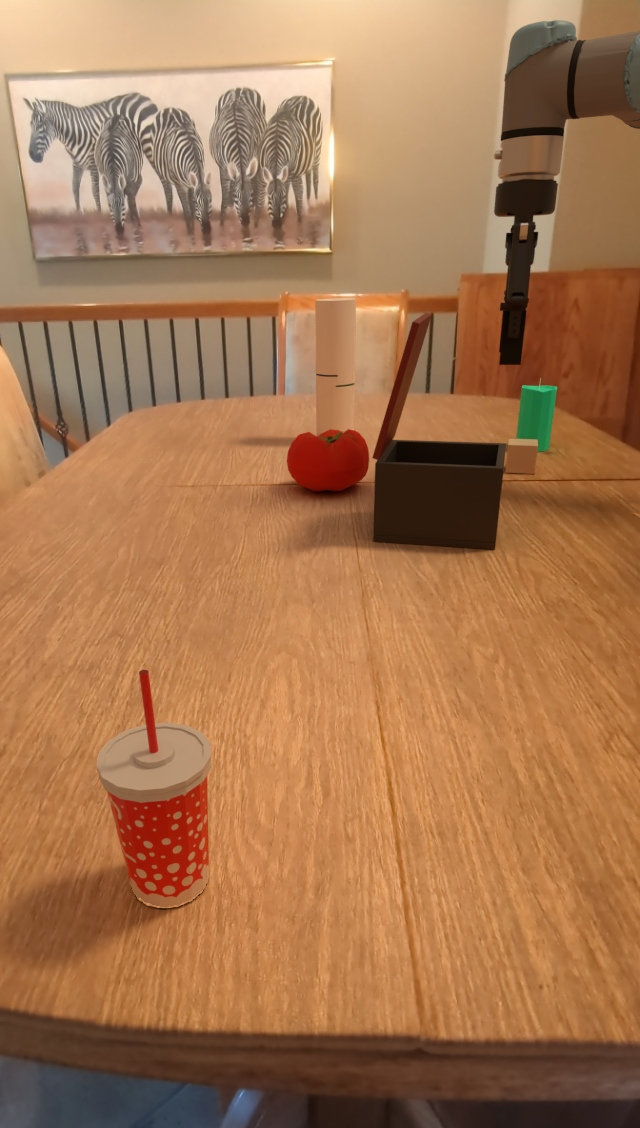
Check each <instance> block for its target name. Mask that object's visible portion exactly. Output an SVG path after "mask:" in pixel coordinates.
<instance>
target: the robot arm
mask: <svg viewBox="0 0 640 1128" xmlns="http://www.w3.org/2000/svg"><path fill="white" fill-rule="evenodd" d="M503 81H504V89H503V90H504V92H503V105H502V119H501V133H500V145H499V146H500V150H495V151H494V154H493V159H494V160H495V161H496V160H497V161H498V160H499V162H498V166H497V167H498V168H497V177H498V178H499V179H501V183H498V184H497V186H496V187H495V197H494V207H493V208H494V209H493V214H494V215H495V217H498V218H509V217H511V218H512V217H514V218H513V224H512V225H511V227H510V232H506V234H505V244H504V248H505V249H506V250H505V251H506V252H505V265H506V266H507V272H506V281H505V282H506V283H505V290H504V292H503V295H504V296H503V301H504V302H500V305H499V312H502V317H501V327H500V337H499V338H500V339H499V349H498V353H500V354H499V361H498V362H499V364H498V365H499V366H521V365H522V357H523V350H524V349H523V348H524V340H525V331H526V330H525V329H526V320H527V313H528V312H527V311H528V310H527V308H528V306H529V305H528V304H529V303H530V298H529V290H530V280H531V268H532V266H533V264H534V261H535V253H536V248H537V246H538V241H539V231H536V230H537V229H536V228H537V225H536V221H534V217H536V216H548V215H552V214H553V213H554V212H555V211H556V204H557V196H558V187H559V183H558V181H557V180H556V179H555V177H556V176H558V175H559V174H560V173H561V168H562V167H561V166H562V159H563V149H564V140H565V127H566V123H567V120H579V119H584V118H585V119H586V118H596V117H597V118H598V117H607V116H609V117H610V116H613V117H614V118H616V119H619V120H621V122H623V123H624V124H625V125H627V126H629V127H630V128H633V129H636V130H640V30H636V31H631V32H630V31H629V32H625V33H619V34H614V35H607V36H602V37H596V38H591V39H583V40H581V39H578V37H577V28H576V25H575V24H574V23H573V22H572V21H568V20H562V19H560V20H559V19H555V20H549V21H547V20H542V21H536V22H532V23H528V24H526V25H523V26H521V27H519V29H517V30H515V32H514V33H513V34H512V37H511V39H510V41H509V49H508V57H507V63H506V70H505V74H504V80H503Z"/></svg>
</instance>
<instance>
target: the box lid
mask: <svg viewBox="0 0 640 1128" xmlns="http://www.w3.org/2000/svg"><path fill="white" fill-rule="evenodd" d="M432 316H433V315H432V313H429V312H425V313H423V314H422V315H420V316H419V317H418V318H416V319H414V320H413V321H412V322H411V326H410V328H409V332H408V335H407V339H406V342H405V346H404V350H403V352H402V355H401V358H400V363H399V366H398V370H397V373H396V376H395V380H394V383H393V387H392V389H391V393H390V397H389V400H388V403H387V407H386V410H385V413H384V418H383V420H382V424H381V427H380V431H379V434H378V437H377V441H376V444H375V448H374V452H373V454H372V459H373V460H376V461H377V460H379V459H380V457H381V456H382V454H383V453H384V451H385V450H386V448H387V447H388V445H389V444H390V443H391V441H392V440H394V438H395V437H396V434H397V430H398V427H399V424H400V420H401V417H402V414H403V411H404V407H405V404H406V402H407V401H406V400H407V397H408V394H409V390H410V387H411V384H412V381H413V378H414V375H415V371H416V368H417V365H418V361H419V358H420V355H421V352H422V348H423V345H424V341H425V338H426V337H427V336H426V335H427V332H428V328H429V325H430V322H431V319H432Z"/></svg>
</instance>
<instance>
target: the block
mask: <svg viewBox="0 0 640 1128" xmlns="http://www.w3.org/2000/svg"><path fill="white" fill-rule="evenodd" d="M507 442H508V443H507V449H506V450H507V452H506V461H505V470H504V471H505V472H504V473H505V474H526V475H535V472H536V464H537V456H538V452H537V450H538V440H537V439H516V438H508V441H507Z"/></svg>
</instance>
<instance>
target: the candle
mask: <svg viewBox="0 0 640 1128" xmlns="http://www.w3.org/2000/svg"><path fill="white" fill-rule="evenodd" d="M541 382H542V377H540V378H539V384H538V385H526V384H525V385H524V384H523V385H521V391H520V399H519V400H520V401H519V410H518V418H517V427H516V428H517V429H516V436H515V439H537V440H538V450H537V453H539V452H546V451H549V450H550V446H551V445H550V444H551V438H552V430H553V421H554V416H555V415H554V414H555V408H556V400H557V392H558V386H554V385H541Z"/></svg>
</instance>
